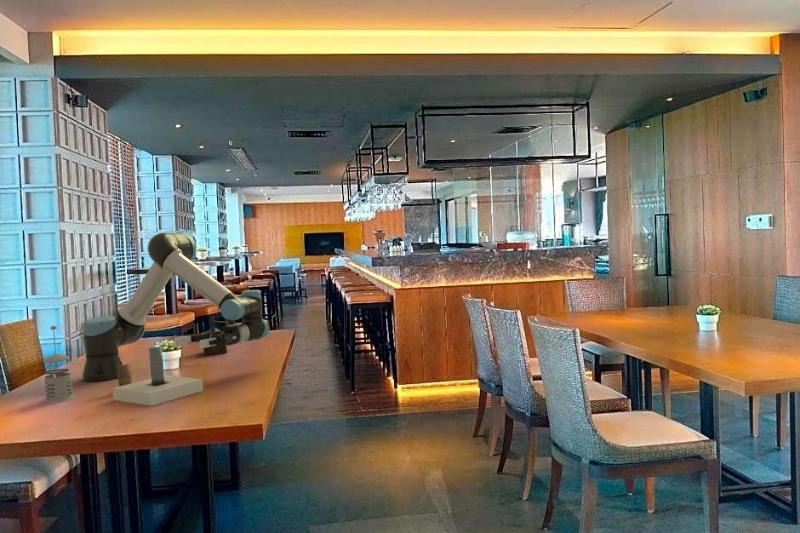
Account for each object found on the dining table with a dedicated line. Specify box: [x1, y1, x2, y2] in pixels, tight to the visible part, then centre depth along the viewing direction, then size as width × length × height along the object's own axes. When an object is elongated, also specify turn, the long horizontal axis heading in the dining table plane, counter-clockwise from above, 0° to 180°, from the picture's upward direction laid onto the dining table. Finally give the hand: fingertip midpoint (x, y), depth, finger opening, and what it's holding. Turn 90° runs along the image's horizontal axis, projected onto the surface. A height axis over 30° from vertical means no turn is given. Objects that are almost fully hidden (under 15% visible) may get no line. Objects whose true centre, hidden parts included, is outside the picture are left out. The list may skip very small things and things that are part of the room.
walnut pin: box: [117, 363, 133, 387], centre depth 223 cm, size 4×4×9 cm
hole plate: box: [112, 374, 204, 407], centre depth 214 cm, size 20×20×4 cm
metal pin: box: [148, 346, 165, 386], centre depth 213 cm, size 4×4×16 cm
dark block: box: [201, 316, 235, 356], centre depth 296 cm, size 16×11×18 cm
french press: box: [42, 325, 76, 404], centre depth 217 cm, size 10×12×25 cm
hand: (187, 343), depth 224 cm, fingers open, 13 cm apart
